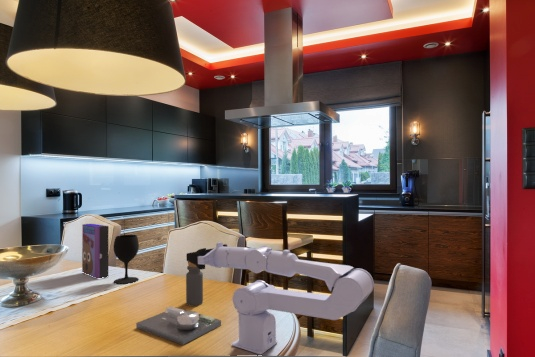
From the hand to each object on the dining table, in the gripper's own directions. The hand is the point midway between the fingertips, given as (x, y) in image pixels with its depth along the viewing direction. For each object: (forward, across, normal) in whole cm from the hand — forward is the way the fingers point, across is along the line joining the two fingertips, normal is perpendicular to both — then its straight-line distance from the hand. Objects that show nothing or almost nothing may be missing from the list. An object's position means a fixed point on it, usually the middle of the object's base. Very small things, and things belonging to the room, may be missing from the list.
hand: (196, 255), depth 100 cm
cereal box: (+86, -20, +16) cm, 89 cm away
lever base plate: (+6, +2, +21) cm, 22 cm away
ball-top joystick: (+5, +3, +19) cm, 20 cm away
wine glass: (+64, -21, +18) cm, 69 cm away
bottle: (+17, -16, +20) cm, 31 cm away
